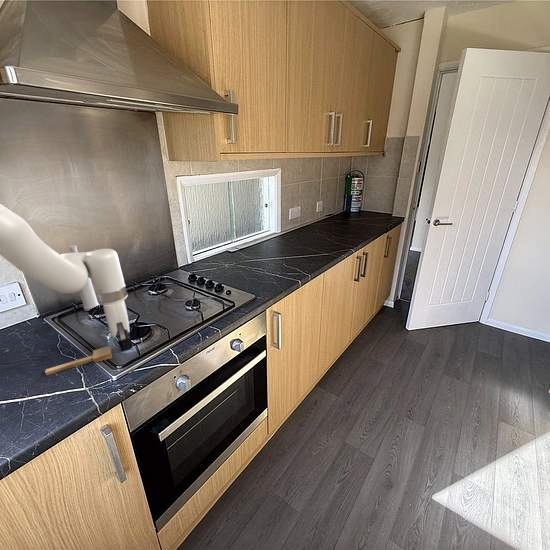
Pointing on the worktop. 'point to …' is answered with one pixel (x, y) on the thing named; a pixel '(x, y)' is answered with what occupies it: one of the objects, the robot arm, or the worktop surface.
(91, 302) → the bottle
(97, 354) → the wooden spatula
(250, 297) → the worktop surface
